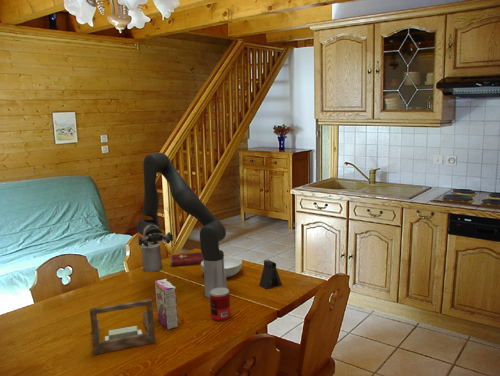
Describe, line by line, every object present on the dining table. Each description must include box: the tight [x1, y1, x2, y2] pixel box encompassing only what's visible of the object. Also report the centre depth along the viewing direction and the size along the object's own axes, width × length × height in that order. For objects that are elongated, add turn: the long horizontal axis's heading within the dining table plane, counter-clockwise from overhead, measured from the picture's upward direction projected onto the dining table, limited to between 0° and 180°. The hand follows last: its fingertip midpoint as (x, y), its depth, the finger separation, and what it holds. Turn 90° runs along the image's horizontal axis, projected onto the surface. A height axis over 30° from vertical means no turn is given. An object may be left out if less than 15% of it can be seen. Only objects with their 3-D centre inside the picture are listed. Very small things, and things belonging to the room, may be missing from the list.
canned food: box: [209, 287, 231, 322], centre depth 179 cm, size 8×8×11 cm
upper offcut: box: [108, 325, 138, 340], centre depth 163 cm, size 10×4×2 cm, turn 107°
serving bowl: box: [200, 255, 243, 278], centre depth 228 cm, size 21×21×7 cm
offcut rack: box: [89, 298, 156, 355], centre depth 166 cm, size 21×20×16 cm
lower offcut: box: [104, 329, 143, 341], centre depth 164 cm, size 13×5×2 cm, turn 110°
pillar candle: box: [141, 242, 163, 273], centre depth 239 cm, size 10×10×15 cm
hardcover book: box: [170, 251, 203, 268], centre depth 250 cm, size 12×21×4 cm, turn 100°
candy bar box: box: [154, 278, 179, 331], centre depth 175 cm, size 11×5×16 cm, turn 30°
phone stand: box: [258, 259, 283, 290], centre depth 210 cm, size 9×6×12 cm, turn 123°
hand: (157, 242), depth 183 cm, fingers open, 8 cm apart
